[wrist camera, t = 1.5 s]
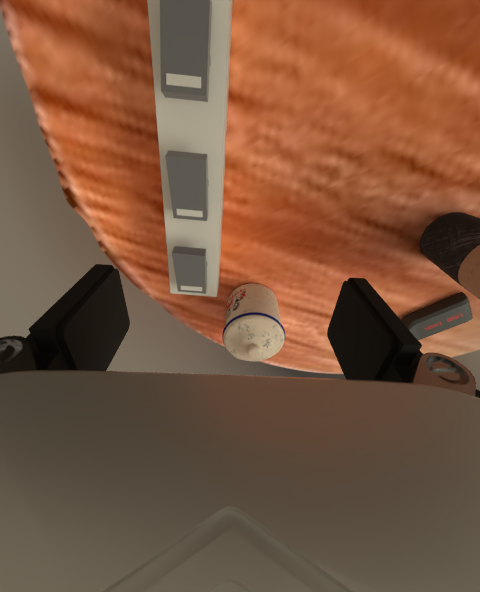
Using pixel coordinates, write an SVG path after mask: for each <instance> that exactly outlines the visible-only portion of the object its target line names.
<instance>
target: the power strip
mask: <svg viewBox="0 0 480 592" xmlns="http://www.w3.org/2000/svg"><path fill="white" fill-rule="evenodd" d="M147 3H148V16H149V28H150V41H151V54H152V66H153V79H154V92H155V104H156V117H157V130H158V142H159V155H160V168H161V180H162V193H163V206H164V218H165V231H166V244H167V256H168V269H169V282H170V293H173V294H186V295H198V296H211V297H217V294H218V287H219V275H220V254H221V233H222V212H223V191H224V170H225V150H226V129H227V108H228V87H229V66H230V45H231V24H232V3H233V0H212V16H211V42H210V67H209V93H208V102H203V101H194V100H184V99H175V98H166V97H165V96H164V95H163V93H162V92H161V59H160V0H147ZM168 150H170V151H180V152H190V153H200V154H207V158H208V219H207V221H200V220H189V219H178V218H173V211H172V203H171V195H170V188H169V180H168V173H167V165H166V157H165V155H166V154H167V152H168ZM174 246H180V247H192V248H203V249H206V262H207V290H206V294H204V293H192V292H179V291H178V289H177V283H176V276H175V270H174V264H173V257H172V251H173V248H174Z"/></svg>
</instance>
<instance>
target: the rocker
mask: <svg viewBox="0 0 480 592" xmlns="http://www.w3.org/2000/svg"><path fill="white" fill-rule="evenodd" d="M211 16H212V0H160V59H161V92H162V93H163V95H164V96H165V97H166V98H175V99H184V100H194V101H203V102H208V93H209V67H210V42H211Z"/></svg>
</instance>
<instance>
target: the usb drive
mask: <svg viewBox="0 0 480 592" xmlns="http://www.w3.org/2000/svg"><path fill="white" fill-rule="evenodd" d="M471 319H472V313H471V308H470V303H469V300H468V298H467V296H466V295H465V294H464V293H463V292H461V293H459V294H456V295H454V296H451V297H449V298H447V299H444V300H442V301H439V302H437V303H435V304H432V305H430V306H427V307H425V308H422V309H420V310H418V311H415V312H413V313H410V314H408V315H406V316H405V317H404V318H403V319H402V320H401V321H402V322H403V324H404V325H405V326H406V327H407V328H408V329H409V331H410V332H411V333H412V334H413V335H414V336H415V338H416V339H417V340H420V339H423V338H425V337H428V336H431V335H433V334H436V333H439V332H441V331H444V330H446V329H449V328H452V327H454V326H457V325H459V324H462V323H465V322H467V321H469V320H471Z"/></svg>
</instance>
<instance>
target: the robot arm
mask: <svg viewBox="0 0 480 592" xmlns="http://www.w3.org/2000/svg"><path fill="white" fill-rule="evenodd" d="M129 325H130V321H129V316H128V312H127V307H126V302H125V298H124V293H123V289H122V284H121V280H120V275H119V271H118V270H117V269H114V267H113V266H112V265H101V264H96V265H95V266H94V267H93V268H91V269H90V270H89V271H88V272H87V273H86V274H85V275H84V276H83V277H82V278H81V279H80V280H79V281H78V282H77V283H76V284H75V285H74V286H73V287H72V288H71V289H70V290H69V291H68V292H67V293H65V294H64V295H63V296H62V297H61V298H60V299H59V300H58V301H57V302H56V303H55V304H54V305H53V306H52V307H51V308H50V309H49V310H48V311H47V312H46V313H45V314H44V315H43V316H42V317H40V318H39V320H37V321H36V322H35V323H34V324H33V325H32V326H31V327H30V328H29V331H30V334H29V335H28V336H27V338H24V337H21V336H6V337H2V338H0V592H480V391H479V390H477V389H476V382H475V378H474V376H473V375H472V373H471V372H470V371H469V370H468V369H467V368H466V367H465V366H463V365H462V364H461V363H459V362H458V361H456V360H454V359H452V358H450V357H448V356H445V355H442V354H438V353H425V354H422V353H421V351H420V350H419V349H420V348H421V346H422V345H421V343H420V342H419V341H418V340H417V339H416V338H415V336H414V335H413V334H412V333H411V332H410V331H409V329H408V328H407V327H406V326H405V325H404V324H403V322H402V321H401V320H400V319H399V318H398V317H397V315H396V314H395V313H394V312H393V311H392V310H391V308H390V307H389V306H388V305H387V304H386V303H385V301H384V300H383V299H382V298H381V297H380V296H379V294H378V293H377V292H376V291H375V290H374V289H373V287H372V286H371V285H370V284H369V283H368V281H367V280H366V279H364V278H349V279H348V281H344V283H343V285H342V288H341V291H340V294H339V297H338V300H337V303H336V306H335V309H334V312H333V315H332V318H331V321H330V324H329V327H328V332H327V335H328V339H329V341H330V343H331V346H332V348H333V350H334V352H335V355H336V357H337V359H338V362H339V364H340V366H341V369H342V371H343V373H344V375H345V377H346V379H323V378H298V377H271V376H244V375H216V374H187V373H186V374H185V373H153V372H118V371H106V370H107V368H108V366H109V364H110V362H111V361H112V359H113V357H114V355H115V353H116V351H117V349H118V348H119V346H120V344H121V342H122V340H123V339H124V336H125V335H126V333H127V331H128V329H129Z"/></svg>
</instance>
